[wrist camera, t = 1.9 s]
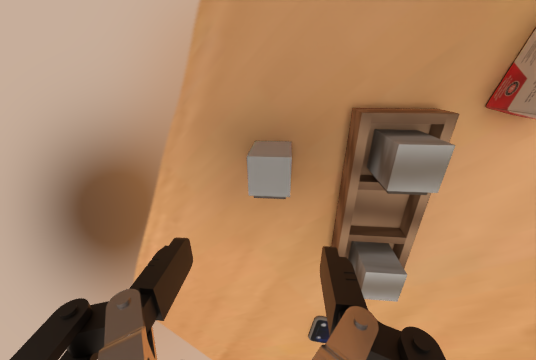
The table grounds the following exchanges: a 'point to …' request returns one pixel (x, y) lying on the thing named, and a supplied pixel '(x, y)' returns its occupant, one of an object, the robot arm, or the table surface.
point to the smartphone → (319, 330)
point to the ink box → (518, 85)
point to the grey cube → (269, 169)
